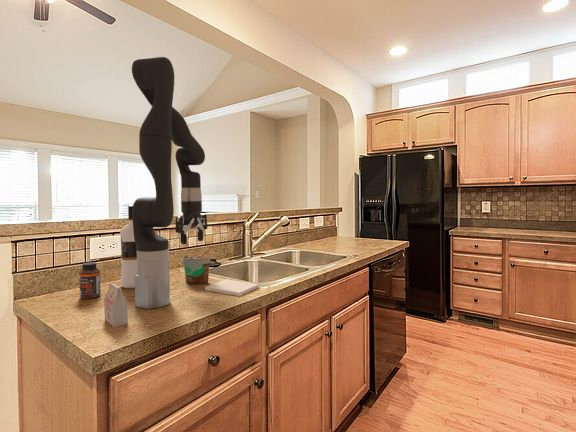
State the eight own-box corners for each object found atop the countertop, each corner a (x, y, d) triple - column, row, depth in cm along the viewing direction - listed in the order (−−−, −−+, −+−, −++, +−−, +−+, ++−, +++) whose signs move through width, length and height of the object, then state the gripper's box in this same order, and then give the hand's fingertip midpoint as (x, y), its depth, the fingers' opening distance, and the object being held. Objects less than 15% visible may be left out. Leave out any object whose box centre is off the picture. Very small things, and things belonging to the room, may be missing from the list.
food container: (175, 283, 130) (174, 257, 130) (187, 279, 136) (186, 254, 135) (199, 287, 124) (199, 260, 124) (211, 283, 130) (210, 257, 129)
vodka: (147, 287, 124) (144, 205, 122) (119, 290, 121) (115, 206, 119) (148, 281, 133) (145, 204, 131) (122, 283, 130) (119, 205, 127)
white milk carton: (119, 317, 95) (118, 281, 94) (127, 323, 90) (126, 286, 89) (104, 320, 92) (103, 284, 92) (113, 327, 87) (111, 289, 87)
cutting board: (239, 296, 114) (239, 292, 113) (205, 290, 121) (205, 286, 121) (259, 287, 124) (259, 284, 124) (226, 282, 131) (226, 279, 131)
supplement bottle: (77, 300, 110) (75, 265, 109) (83, 294, 115) (81, 261, 114) (97, 298, 111) (96, 264, 110) (102, 293, 117) (101, 260, 116)
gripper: (184, 200, 120) (185, 246, 121) (211, 199, 132) (212, 240, 134) (169, 200, 123) (170, 244, 125) (197, 199, 136) (198, 239, 137)
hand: (192, 242), depth 129 cm, fingers open, 8 cm apart
